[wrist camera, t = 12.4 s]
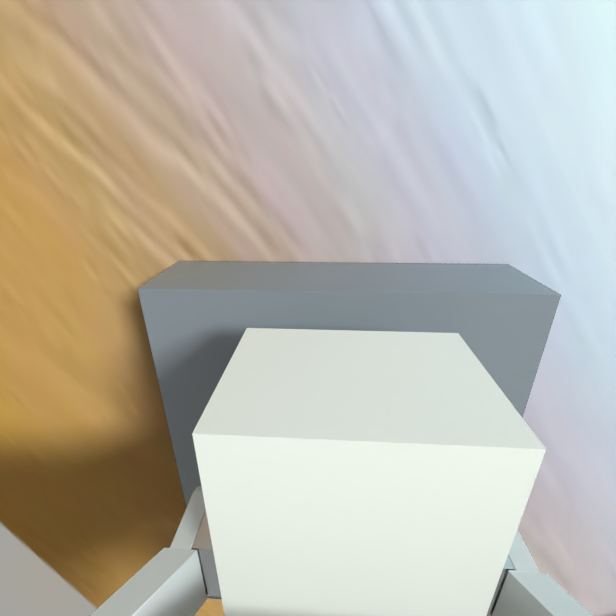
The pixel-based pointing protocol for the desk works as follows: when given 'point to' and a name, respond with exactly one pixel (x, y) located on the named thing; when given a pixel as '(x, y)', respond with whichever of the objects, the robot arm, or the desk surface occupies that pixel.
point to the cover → (361, 475)
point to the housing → (332, 321)
